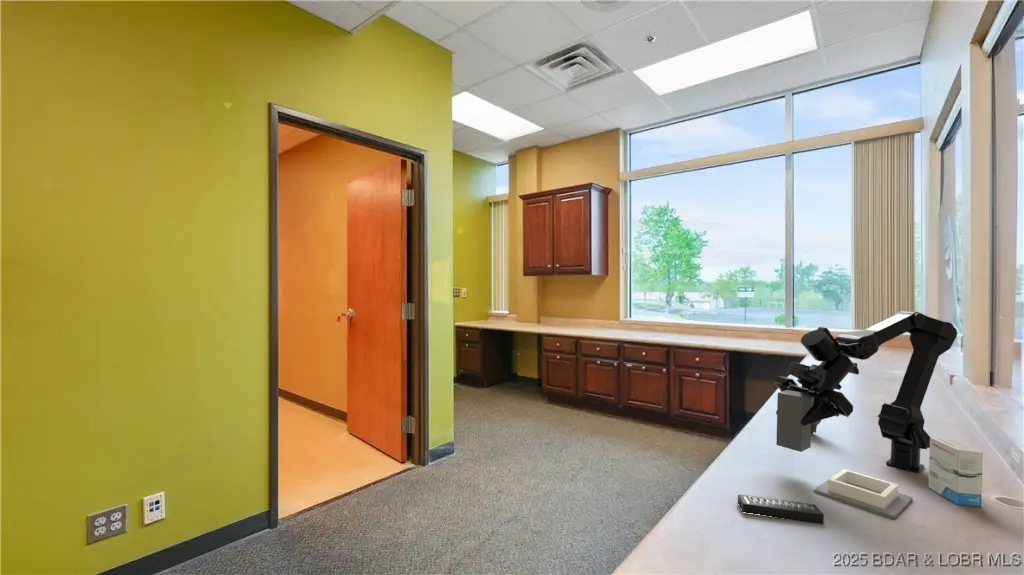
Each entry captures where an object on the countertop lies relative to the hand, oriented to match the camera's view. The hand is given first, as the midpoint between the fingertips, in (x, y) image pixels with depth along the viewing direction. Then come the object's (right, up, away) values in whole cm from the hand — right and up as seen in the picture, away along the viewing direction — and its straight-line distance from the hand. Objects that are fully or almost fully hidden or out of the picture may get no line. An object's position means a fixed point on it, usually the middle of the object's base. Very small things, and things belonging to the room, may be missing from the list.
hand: (789, 419), depth 109 cm
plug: (+1, -7, 0) cm, 7 cm away
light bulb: (+26, -14, +30) cm, 42 cm away
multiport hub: (-14, -14, -19) cm, 27 cm away
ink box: (+30, -14, -10) cm, 35 cm away
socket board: (+10, -14, -11) cm, 20 cm away
